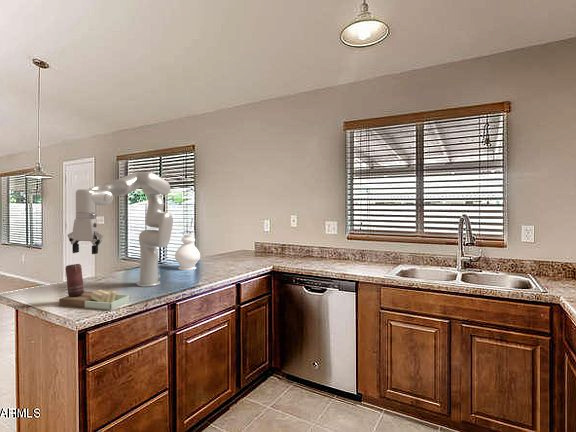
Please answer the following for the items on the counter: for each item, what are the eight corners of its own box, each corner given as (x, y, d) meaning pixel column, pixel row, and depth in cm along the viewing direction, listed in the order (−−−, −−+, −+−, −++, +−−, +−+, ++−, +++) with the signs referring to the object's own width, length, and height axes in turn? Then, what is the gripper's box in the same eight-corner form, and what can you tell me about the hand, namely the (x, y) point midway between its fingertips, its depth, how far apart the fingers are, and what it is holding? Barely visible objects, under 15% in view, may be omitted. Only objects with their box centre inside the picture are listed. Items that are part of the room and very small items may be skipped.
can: (72, 297, 150) (69, 266, 150) (66, 296, 154) (62, 265, 153) (86, 293, 155) (83, 263, 155) (80, 292, 159) (76, 263, 159)
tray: (106, 299, 161) (106, 293, 161) (130, 301, 159) (130, 295, 159) (84, 308, 147) (84, 301, 147) (110, 310, 145) (111, 303, 145)
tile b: (110, 289, 156) (116, 291, 155) (107, 300, 156) (113, 302, 155) (103, 292, 151) (109, 294, 150) (100, 303, 151) (106, 305, 150)
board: (82, 297, 162) (82, 291, 162) (105, 299, 161) (105, 293, 161) (59, 305, 149) (59, 299, 148) (83, 307, 147) (83, 301, 147)
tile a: (98, 295, 156) (100, 289, 156) (107, 299, 156) (109, 292, 155) (90, 298, 151) (92, 292, 151) (100, 302, 151) (101, 295, 150)
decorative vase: (186, 271, 232) (187, 235, 232) (169, 268, 242) (170, 233, 241) (205, 268, 248) (206, 234, 247) (188, 265, 257) (189, 232, 256)
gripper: (108, 216, 156) (107, 253, 157) (74, 215, 159) (74, 251, 159) (96, 217, 149) (96, 255, 150) (61, 216, 151) (61, 253, 152)
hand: (85, 253), depth 155 cm, fingers open, 9 cm apart
